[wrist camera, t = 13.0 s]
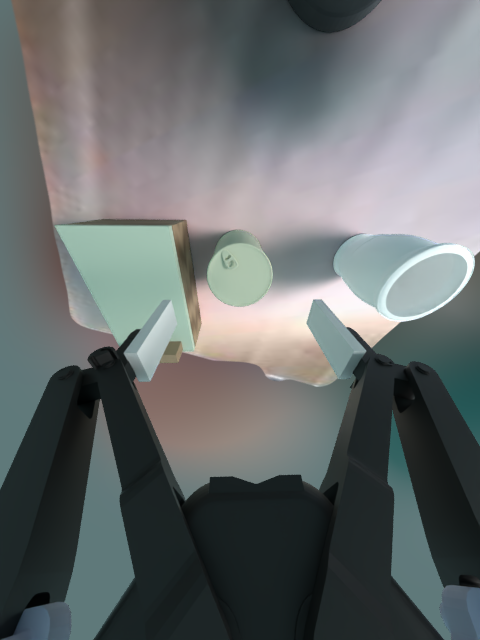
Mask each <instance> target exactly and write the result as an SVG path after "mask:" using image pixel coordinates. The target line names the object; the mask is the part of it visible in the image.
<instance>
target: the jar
mask: <svg viewBox="0 0 480 640" xmlns="http://www.w3.org/2000/svg"><path fill="white" fill-rule="evenodd" d="M474 265H475V259H474V255H473V253H472V252H471V251H470V250H469V249H468V248H466V247H464V246H461V245H457V244H452V243H442V244H438V243H436V242H434V241H431V240H428V239H425V238H422V237H418V236H413V235H405V234H391V235H388V234H380V235H371V234H359V235H356V236H354V237H352V238H350V239H348V240H347V241H346V242H345V243H343V244H342V246H341V247H340V248H339V249H338V251H337V253H336V255H335V257H334V262H333V266H334V270H335V272H336V273H337V274H338V275H339V276H341V277H342V279H343V281H344V282H345V283H346V285H347V286H348V287H349V289H350V290H351V291H352V292H353V293H354V294H355V295H356V296H357V297H358V298H360V299H361V300H362V301H364V302H365V303H367V304H369V305H371V306H373V307H375V308H376V310H377V311H378V312H379V313H380V314H381V315H382V316H383V317H384V318H386V319H388V320H391V321H410V320H414V319H417V318H420V317H423V316H425V315H428V314H430V313H432V312H434V311H435V310H438V309H439V308H441V307H442V306H444V305H445V304H446V303H448V302H449V301H450V300H452V299H453V298H454V297H455V296H456V295H457V294H458V293H459V292H460V291H461V290H462V289H463V287H464V286H465V285H466V284H467V282H468V281H469V279H470V277H471V275H472V273H473V270H474Z"/></svg>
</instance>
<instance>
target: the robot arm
mask: <svg viewBox="0 0 480 640" xmlns="http://www.w3.org/2000/svg"><path fill="white" fill-rule="evenodd" d="M288 1H289V2H290V4H291V6H292V7H293V9H294V10H295V12H296V13H297V14H298V16H299V17H300V18H301V19H302V20H303V21H304V22H305V23H307V24H308V25H309V26H311V27H313V28H315V29H317V30H320V31H325V32H335V31H340V30H344V29H346V28H348V27H350V26H352V25H354V24H356V23H357V22H359V21H360V20H362V19H363V18H364V17H365V16H367V15H368V14H369V13H370V12H371V11H372V10H373V9H374V8H375V7H376V6H377V5H378V4H379V3H380V1H381V0H288ZM307 325H308V327H309V329H310V330H311V332H312V334H313V336H314V337H315V339H316V341H317V342H318V344H319V346H320V348H321V349H322V351H323V353H324V354H325V356H326V358H327V360H328V361H329V363H330V365H331V367H332V368H333V370H334V372H335V373H336V375H337V377H338V379H350V377H351V375H352V374H354V375H355V377H356V379H355V380H354V382H353V384H352V385H351V387H350V388H351V389H352V390H351V393H350V396H349V400H348V403H347V406H346V410H345V413H344V417H343V420H342V423H341V427H340V430H339V433H338V437H337V440H336V443H335V447H334V450H333V454H332V457H331V460H330V464H329V467H328V470H327V473H326V476H325V478H324V480H323V482H322V484H321V486H320V489H319V490H318V489H316V488H315V487H313V486H312V485H310V484H308V483H306V482H304V481H302V478H301V475H279V476H276V477H274V478H271V479H268V480H266V481H264V482H261V483H259V484H254V483H251V482H247V481H244V480H242V479H239V478H235V477H210V483H208V484H205V485H204V486H202V487H200V488H199V489H198V490H196V491H195V492H194V493H193V494H192V495H191V496H190V497H189V498H188V499H187V500H185V498H184V495H183V493H182V491H181V489H180V487H179V485H178V483H177V481H176V479H175V477H174V474H173V472H172V470H171V467H170V465H169V463H168V460H167V458H166V456H165V453H164V451H163V449H162V446H161V444H160V442H159V440H158V437H157V435H156V433H155V430H154V428H153V426H152V423H151V421H150V419H149V417H148V414H147V412H146V409H145V407H144V405H143V403H142V400H141V398H140V395H139V393H138V391H137V388H136V386H135V384H134V382H133V381H134V379H135V377H137V379H138V381H140V382H142V381H151V379H152V376H153V375H154V372H155V370H156V368H157V366H158V364H159V362H160V360H161V358H162V355H163V353H164V351H165V349H166V347H167V345H168V343H169V341H170V339H171V336H172V334H173V332H174V330H175V328H176V326H177V321H176V317H175V313H174V309H173V305H172V301H171V300H162V302H161V303H160V304H159V306H158V307H157V308H156V310H155V311H154V312H153V314H152V315H151V316H150V318H149V319H148V321H147V322H146V323H145V325H144V326H143V327H142V329H136V330H134V331H133V332H132V333H130V334H129V336H128V337H127V339H125V341H124V343H122V345H121V346H120V347H119V348H118V350H117V351H115V349H114V348H113V347H103V348H100V349H98V350H96V351H94V352H93V353H91V354H90V356H89V357H88V362H89V363H90V364H91V366H92V367H93V368H89V369H85V370H81V369H80V368H79V367H78V366H74V365H73V366H68V367H65V368H63V369H61V370H59V371H57V372H56V373H55V374H54V375H53V376H52V377H51V378H50V380H49V382H48V385H47V387H46V389H45V391H44V393H43V396H42V398H41V400H40V402H39V405H38V407H37V409H36V411H35V414H34V416H33V418H32V420H31V423H30V425H29V427H28V429H27V431H26V434H25V436H24V438H23V441H22V443H21V445H20V447H19V449H18V451H17V454H16V456H15V458H14V460H13V463H12V465H11V467H10V469H9V472H8V474H7V476H6V478H5V481H4V483H3V485H2V487H1V489H0V640H69V636H70V633H71V611H70V608H69V605H67V604H66V603H65V602H64V601H65V598H66V594H67V590H68V586H69V582H70V579H71V575H72V572H73V567H74V562H75V556H76V551H77V545H78V539H79V532H80V526H81V519H82V513H83V505H84V500H85V493H86V486H87V480H88V473H89V467H90V459H91V453H92V447H93V440H94V434H95V427H96V420H97V414H98V408H99V401H100V399H101V400H102V404H103V408H104V412H105V417H106V421H107V426H108V430H109V434H110V438H111V443H112V447H113V451H114V456H115V460H116V465H117V469H118V473H119V477H120V482H121V487H122V492H121V495H120V507H121V512H122V517H123V522H124V527H125V531H126V536H127V541H128V545H129V550H130V555H131V559H132V564H133V569H134V574H135V578H134V579H133V581H132V582H131V584H130V585H129V587H128V588H127V590H126V591H125V593H124V594H123V596H122V597H121V599H120V601H119V602H118V604H117V605H116V606H115V608H114V609H113V611H112V612H111V614H110V616H109V617H108V618H107V620H106V622H105V623H104V624H103V626H102V628H101V629H100V631H99V632H98V634H97V635H96V637H95V638H94V640H444V639H443V638H442V637H441V636H440V634H439V633H438V632H437V631H436V629H435V628H434V627H433V626H432V625H431V623H430V622H429V621H428V620H427V619H426V617H425V616H424V615H423V614H422V612H421V611H420V610H419V609H418V608H417V606H416V605H415V604H414V603H413V602H412V600H411V599H410V598H409V597H408V596H407V594H406V593H405V592H404V591H403V589H402V588H401V587H400V586H399V585H398V583H397V582H396V581H395V580H394V579H393V577H392V576H391V559H392V537H393V515H394V493H393V489H392V488H391V487H390V486H389V485H388V482H387V473H388V459H389V446H390V433H391V419H392V410H393V414H394V418H395V421H396V425H397V429H398V433H399V437H400V440H401V444H402V448H403V452H404V456H405V459H406V463H407V467H408V471H409V474H410V478H411V482H412V486H413V490H414V493H415V497H416V501H417V504H418V509H419V512H420V516H421V520H422V524H423V527H424V531H425V535H426V538H427V542H428V545H429V548H430V551H431V555H432V558H433V561H434V563H435V566H436V568H437V571H438V574H439V576H440V579H441V582H442V584H443V586H444V589H443V592H442V603H441V604H440V607H439V608H440V613H441V617H442V619H443V621H444V624H445V626H446V627H447V628H448V630H449V632H450V633H451V640H480V446H479V444H478V443H477V441H476V439H475V437H474V436H473V434H472V432H471V431H470V429H469V427H468V426H467V424H466V422H465V420H464V419H463V417H462V415H461V413H460V412H459V410H458V408H457V407H456V405H455V403H454V401H453V400H452V398H451V396H450V395H449V393H448V391H447V389H446V388H445V386H444V384H443V383H442V381H441V379H440V378H439V376H438V374H437V373H436V372H435V370H433V369H432V368H431V367H429V366H428V365H426V364H423V363H420V362H415V361H414V362H410V363H409V364H408V365H407V366H403V365H398V364H394V363H393V361H392V360H391V359H389V358H388V357H386V356H384V355H381V354H376V353H375V352H374V351H373V350H372V349H371V347H370V346H369V345H368V344H367V343H366V342H365V341H363V339H362V338H361V337H360V335H359V334H358V333H357V332H356V331H354V330H353V329H351V328H350V327H345V326H344V325H343V324H342V322H341V321H340V320H339V319H338V318H337V317H336V316H335V314H334V313H333V312H332V311H331V310H330V309H329V307H328V306H327V305H326V304H325V303H324V302H323V301H322V300H313V303H312V306H311V310H310V313H309V317H308V320H307Z"/></svg>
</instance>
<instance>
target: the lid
mask: <svg viewBox="0 0 480 640" xmlns="http://www.w3.org/2000/svg"><path fill="white" fill-rule="evenodd" d="M54 226H55V228H56V229H57V231H58V233H59V235H60V237H61V239H62V241H63V242H64V244H65V246H66V248H67V250H68V252H69V254H70V255H71V257H72V259H73V261H74V263H75V265H76V267H77V268H78V270H79V272H80V274H81V276H82V278H83V280H84V281H85V283H86V285H87V287H88V289H89V291H90V293H91V294H92V296H93V298H94V300H95V302H96V304H97V306H98V307H99V309H100V311H101V313H102V315H103V317H104V319H105V320H106V322H107V324H108V326H109V328H110V330H111V332H112V333H113V335H114V337H115V339H116V341H117V343H118V345H119V346H121V345H122V343H124V341H125V339H127V337H128V336H129V334H130V333H132V332H133V331H134V330H136V329H142V327H143V326H144V325H145V323H146V322H147V321H148V319H149V318H150V316H151V315H152V314H153V312H154V311H155V310H156V308H157V307H158V306H159V304H160V303H161V302H162V300H171V301H172V305H173V309H174V313H175V317H176V321H177V326H176V328H175V330H174V332H173V334H172V336H171V339H170V341H169V343H168V345H167V347H166V349H165V351H164V353H163V355H162V358H161V360H160V362H159V363H178V362H179V359H180V356H181V353H182V351H194V349H195V345H194V340H193V334H192V329H191V324H190V319H189V314H188V309H187V303H186V298H185V293H184V288H183V283H182V277H181V272H180V267H179V262H178V257H177V252H176V246H175V241H174V236H173V231H172V226H171V225H69V224H62V225H54Z"/></svg>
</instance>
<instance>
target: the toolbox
mask: <svg viewBox="0 0 480 640" xmlns="http://www.w3.org/2000/svg"><path fill="white" fill-rule="evenodd" d="M69 225H171V226H172V231H173V236H174V241H175V246H176V252H177V257H178V262H179V267H180V272H181V277H182V283H183V288H184V293H185V298H186V303H187V309H188V314H189V319H190V324H191V329H192V334H193V340H194V345H196V342H197V338H198V334H199V331H200V327H201V317H200V310H199V303H198V297H197V290H196V283H195V276H194V270H193V263H192V256H191V249H190V242H189V236H188V229H187V222H186V220H114V219H102V220H95V221H87V222H80V223H72V224H69Z"/></svg>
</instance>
